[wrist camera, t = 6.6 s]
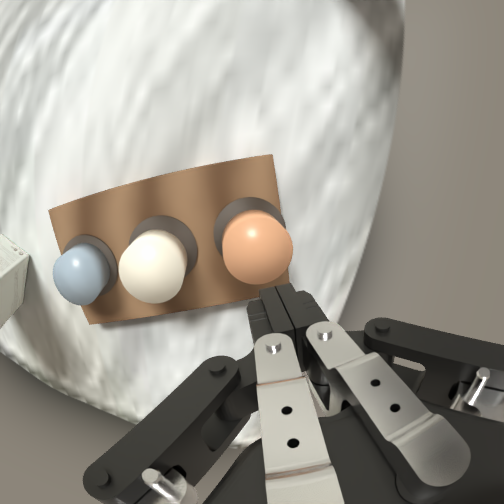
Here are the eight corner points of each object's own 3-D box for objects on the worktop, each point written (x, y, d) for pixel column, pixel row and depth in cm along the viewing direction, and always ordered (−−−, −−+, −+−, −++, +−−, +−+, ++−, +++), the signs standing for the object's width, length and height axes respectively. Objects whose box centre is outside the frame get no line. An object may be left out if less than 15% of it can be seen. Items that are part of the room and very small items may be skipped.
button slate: (100, 237, 22) (87, 248, 19) (116, 286, 24) (106, 301, 21) (60, 248, 22) (45, 259, 19) (77, 293, 24) (65, 308, 21)
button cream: (179, 223, 21) (173, 233, 18) (193, 280, 23) (190, 297, 20) (122, 236, 21) (110, 248, 18) (139, 290, 23) (131, 307, 20)
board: (270, 154, 24) (275, 154, 22) (287, 281, 29) (293, 291, 27) (56, 206, 23) (45, 211, 21) (94, 315, 27) (87, 326, 25)
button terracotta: (279, 204, 22) (288, 212, 19) (286, 262, 23) (295, 277, 21) (216, 216, 21) (216, 225, 18) (228, 273, 23) (230, 290, 20)
